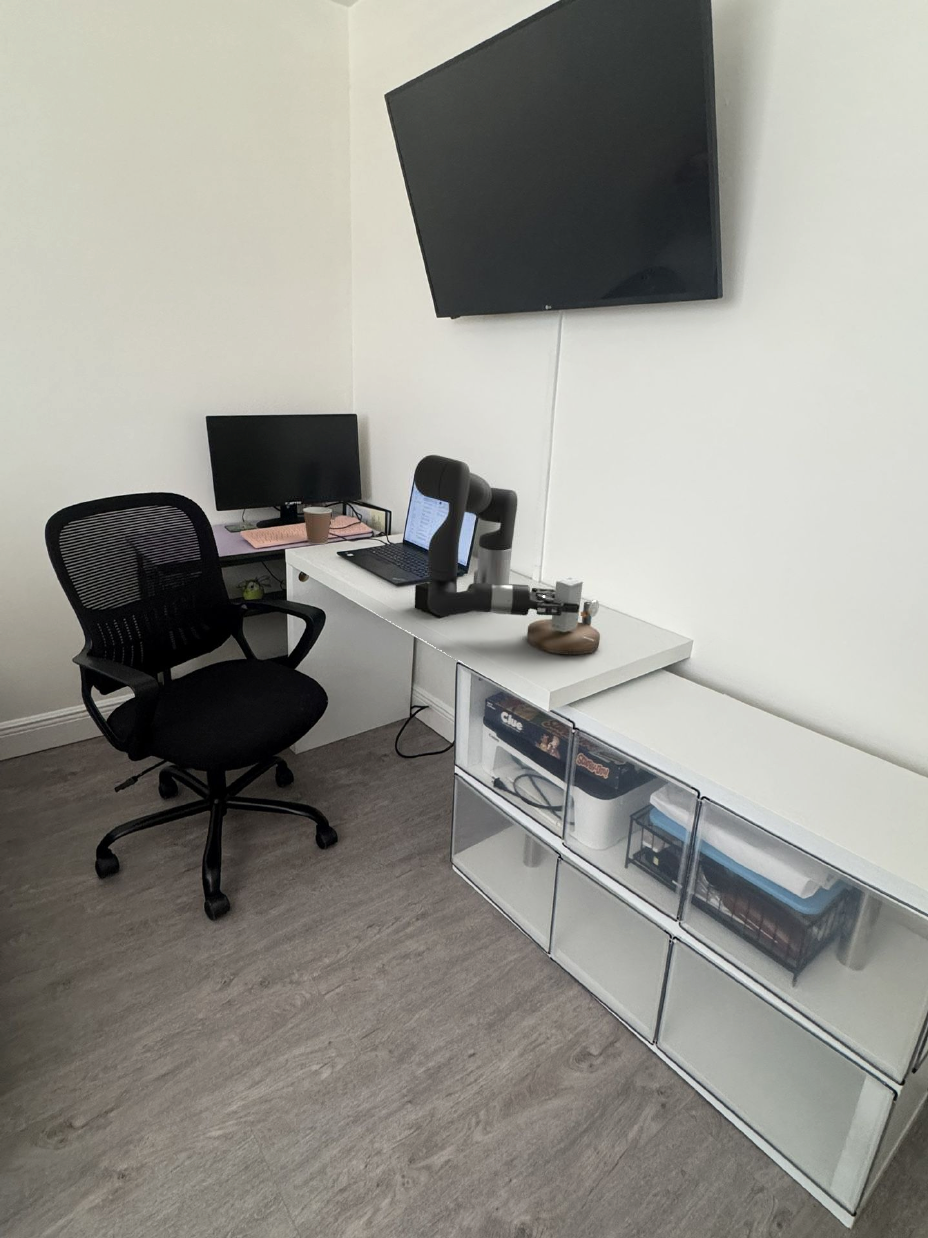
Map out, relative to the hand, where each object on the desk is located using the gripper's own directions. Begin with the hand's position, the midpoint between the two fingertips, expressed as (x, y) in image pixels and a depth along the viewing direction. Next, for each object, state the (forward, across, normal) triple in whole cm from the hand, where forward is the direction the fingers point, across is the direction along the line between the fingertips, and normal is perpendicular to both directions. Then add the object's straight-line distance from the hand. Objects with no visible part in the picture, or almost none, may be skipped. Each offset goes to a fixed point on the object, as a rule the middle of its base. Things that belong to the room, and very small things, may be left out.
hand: (575, 603), depth 172 cm
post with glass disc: (+5, +9, +11) cm, 15 cm away
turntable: (-2, 0, +11) cm, 11 cm away
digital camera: (-35, +19, +11) cm, 41 cm away
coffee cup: (-79, +89, +12) cm, 119 cm away
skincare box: (-2, 0, +7) cm, 7 cm away
